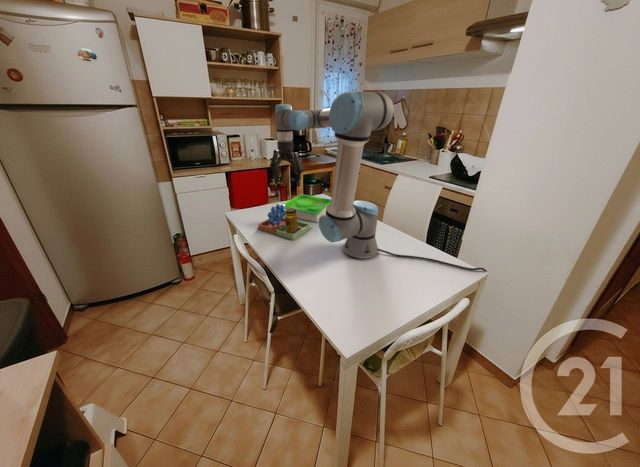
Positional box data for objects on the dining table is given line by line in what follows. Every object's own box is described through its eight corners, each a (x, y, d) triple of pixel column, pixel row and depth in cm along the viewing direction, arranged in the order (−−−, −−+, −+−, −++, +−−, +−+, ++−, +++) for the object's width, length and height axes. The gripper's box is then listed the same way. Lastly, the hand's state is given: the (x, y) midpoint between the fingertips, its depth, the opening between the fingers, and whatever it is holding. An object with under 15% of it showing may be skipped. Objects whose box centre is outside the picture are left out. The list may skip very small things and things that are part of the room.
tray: (300, 201, 177) (300, 193, 174) (334, 207, 167) (334, 200, 165) (279, 214, 157) (279, 206, 155) (317, 222, 147) (317, 214, 145)
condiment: (282, 232, 135) (281, 210, 130) (291, 225, 142) (290, 205, 136) (294, 235, 132) (293, 213, 127) (303, 228, 139) (302, 207, 133)
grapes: (283, 219, 149) (281, 199, 144) (289, 223, 144) (288, 203, 139) (264, 224, 143) (262, 204, 137) (270, 229, 138) (268, 208, 132)
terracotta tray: (292, 223, 146) (292, 219, 145) (274, 233, 135) (274, 229, 134) (277, 218, 151) (277, 214, 150) (258, 228, 140) (258, 224, 139)
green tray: (310, 228, 140) (310, 224, 139) (293, 240, 129) (292, 235, 128) (293, 223, 146) (293, 219, 144) (275, 234, 134) (275, 229, 133)
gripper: (311, 142, 122) (311, 186, 132) (270, 137, 134) (273, 178, 143) (301, 144, 116) (302, 190, 126) (260, 139, 128) (264, 181, 138)
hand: (287, 184), depth 135 cm, fingers open, 13 cm apart
